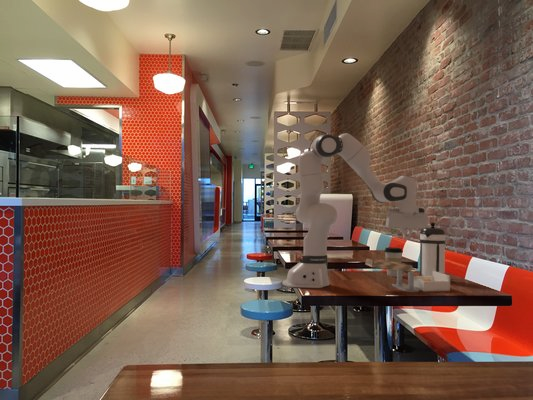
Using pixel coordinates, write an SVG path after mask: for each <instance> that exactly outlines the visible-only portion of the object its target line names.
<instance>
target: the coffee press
mask: <svg viewBox="0 0 533 400" xmlns="http://www.w3.org/2000/svg"><path fill="white" fill-rule="evenodd" d="M429 225H430V226H427V228H420V229H421V230H420V231H419V235H420V237H419V245H420V246H419V247H420V249H419V275H418V276H433V271H436V272H440V273H443V274H446V272H445V271H446V269H445V268H446V265H445V264H446V242H447V241H446V235H447V233H446V231H445V229H444V228H442V227H435V226H436V223H435V222H430V224H429Z"/></svg>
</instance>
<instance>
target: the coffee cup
mask: <svg viewBox="0 0 533 400" xmlns="http://www.w3.org/2000/svg"><path fill="white" fill-rule="evenodd" d="M403 252H404V251H403V248H401V247H385V249H384V257H385V261H390V262H398V263H402V260H403V259H402V258H403ZM386 274H387V276H388V277H392V276H393V278H394V277H396V278H397V270H391V269H386Z"/></svg>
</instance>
